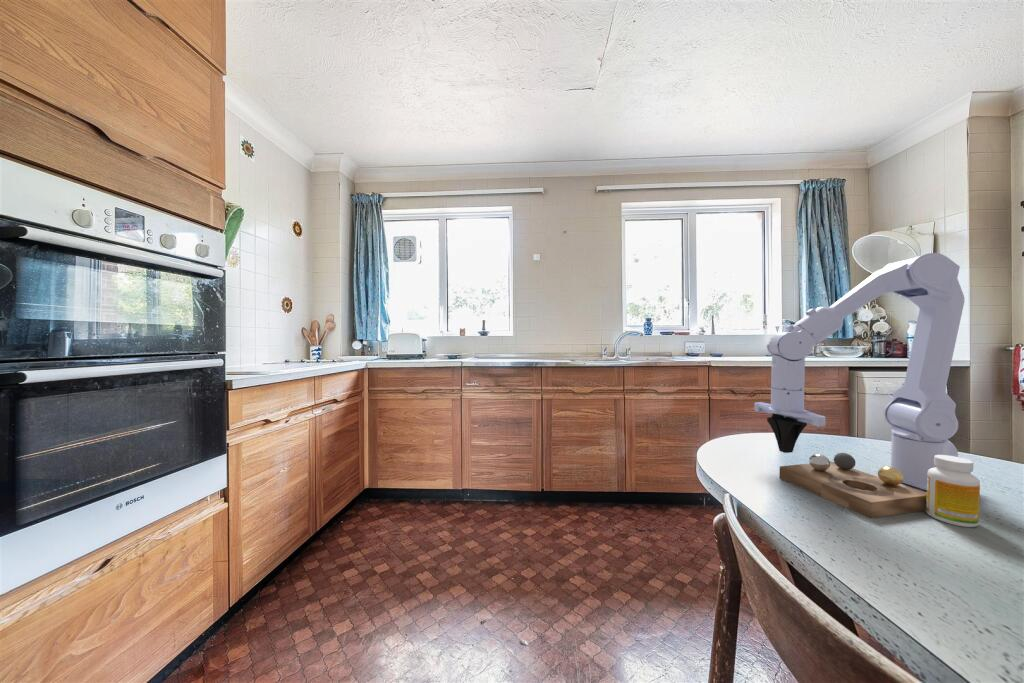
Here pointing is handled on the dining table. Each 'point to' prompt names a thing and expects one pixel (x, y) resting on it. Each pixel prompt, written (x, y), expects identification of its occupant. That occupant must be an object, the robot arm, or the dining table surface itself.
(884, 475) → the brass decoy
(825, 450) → the dining table surface
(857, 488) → the brown wooden hole board
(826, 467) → the steel ball
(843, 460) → the gray ball
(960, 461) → the supplement bottle
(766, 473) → the dining table surface
